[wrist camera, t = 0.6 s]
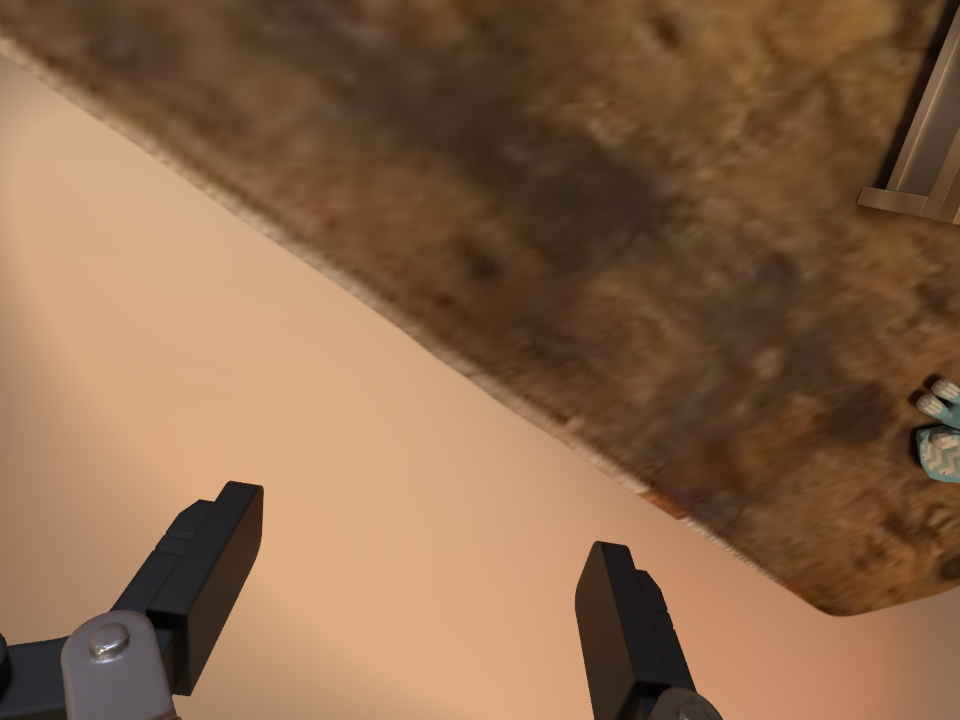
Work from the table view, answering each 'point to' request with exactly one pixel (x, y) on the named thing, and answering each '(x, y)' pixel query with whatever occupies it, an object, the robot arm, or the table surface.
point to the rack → (929, 148)
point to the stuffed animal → (941, 433)
